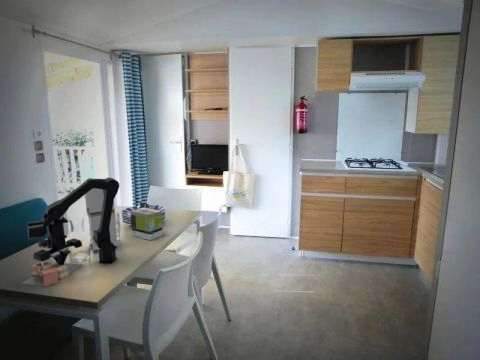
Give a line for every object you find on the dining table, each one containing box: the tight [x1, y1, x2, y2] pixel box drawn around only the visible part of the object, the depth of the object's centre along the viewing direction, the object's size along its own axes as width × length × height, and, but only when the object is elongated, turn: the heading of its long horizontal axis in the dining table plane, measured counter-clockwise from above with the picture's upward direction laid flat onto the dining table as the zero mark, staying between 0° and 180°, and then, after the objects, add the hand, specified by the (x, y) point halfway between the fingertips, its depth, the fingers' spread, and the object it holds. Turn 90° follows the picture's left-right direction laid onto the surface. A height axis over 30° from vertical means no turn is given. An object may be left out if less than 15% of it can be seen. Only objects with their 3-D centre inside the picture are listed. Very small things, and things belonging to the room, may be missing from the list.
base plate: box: [21, 261, 83, 287], centre depth 147 cm, size 14×20×1 cm
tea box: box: [130, 207, 164, 241], centre depth 191 cm, size 15×10×15 cm, turn 58°
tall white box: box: [83, 180, 119, 254], centre depth 172 cm, size 11×11×35 cm
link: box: [31, 261, 69, 280], centre depth 145 cm, size 15×5×4 cm, turn 72°
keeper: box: [41, 267, 60, 287], centre depth 138 cm, size 4×5×6 cm
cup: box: [61, 210, 70, 235], centre depth 184 cm, size 8×8×16 cm
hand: (60, 267), depth 148 cm, fingers closed
